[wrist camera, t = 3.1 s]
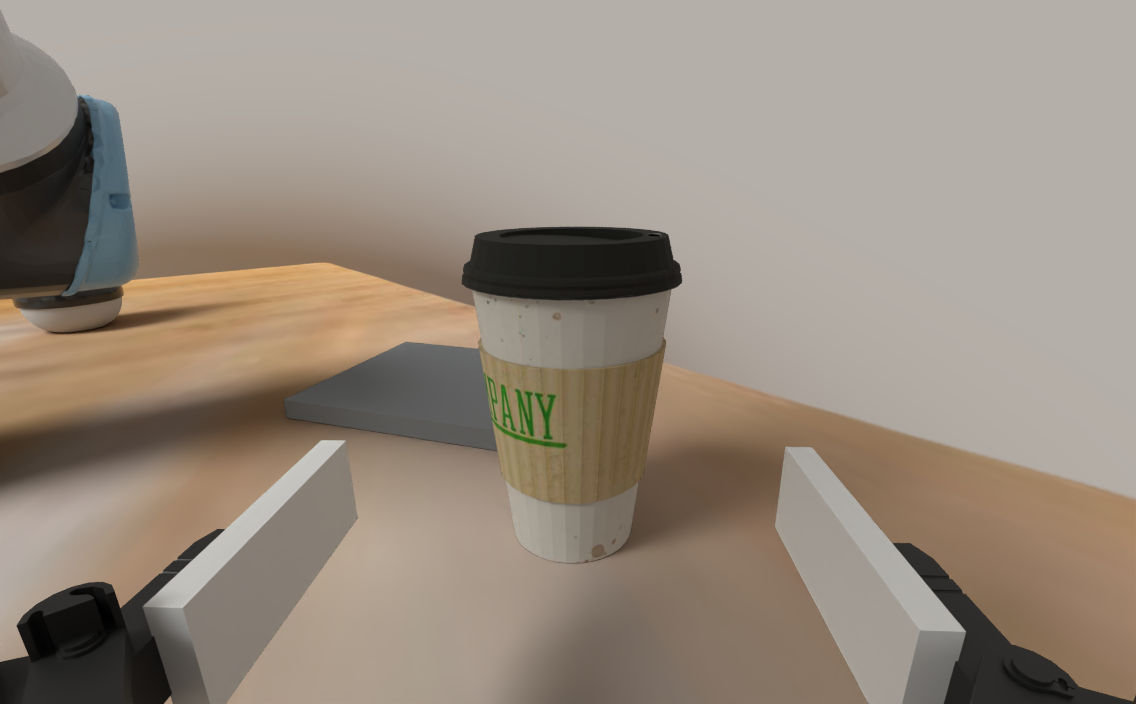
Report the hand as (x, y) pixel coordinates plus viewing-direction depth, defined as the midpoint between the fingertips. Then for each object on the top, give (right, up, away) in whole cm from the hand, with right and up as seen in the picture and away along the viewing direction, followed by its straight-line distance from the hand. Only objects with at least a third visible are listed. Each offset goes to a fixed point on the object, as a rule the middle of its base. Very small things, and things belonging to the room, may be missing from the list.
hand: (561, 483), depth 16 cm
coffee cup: (0, -5, +12) cm, 13 cm away
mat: (-10, 0, +29) cm, 31 cm away
